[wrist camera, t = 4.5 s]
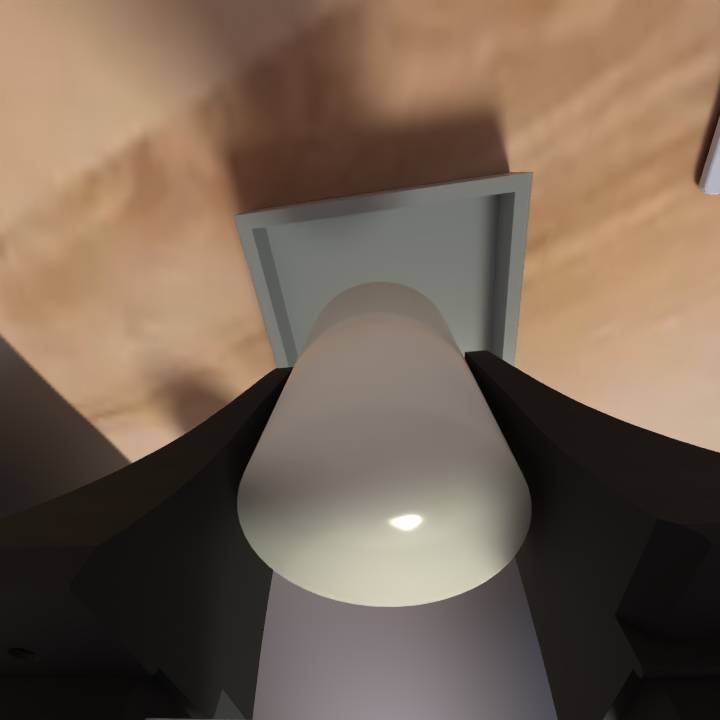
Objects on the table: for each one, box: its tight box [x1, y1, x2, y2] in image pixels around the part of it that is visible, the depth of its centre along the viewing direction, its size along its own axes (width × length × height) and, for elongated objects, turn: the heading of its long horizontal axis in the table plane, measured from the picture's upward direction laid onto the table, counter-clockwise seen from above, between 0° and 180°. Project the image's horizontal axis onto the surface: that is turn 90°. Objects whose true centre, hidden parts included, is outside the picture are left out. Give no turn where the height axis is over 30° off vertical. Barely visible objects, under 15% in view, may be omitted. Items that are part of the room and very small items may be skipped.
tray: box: [234, 172, 533, 368], centre depth 18 cm, size 12×12×2 cm
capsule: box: [237, 282, 532, 607], centre depth 9 cm, size 5×5×7 cm
